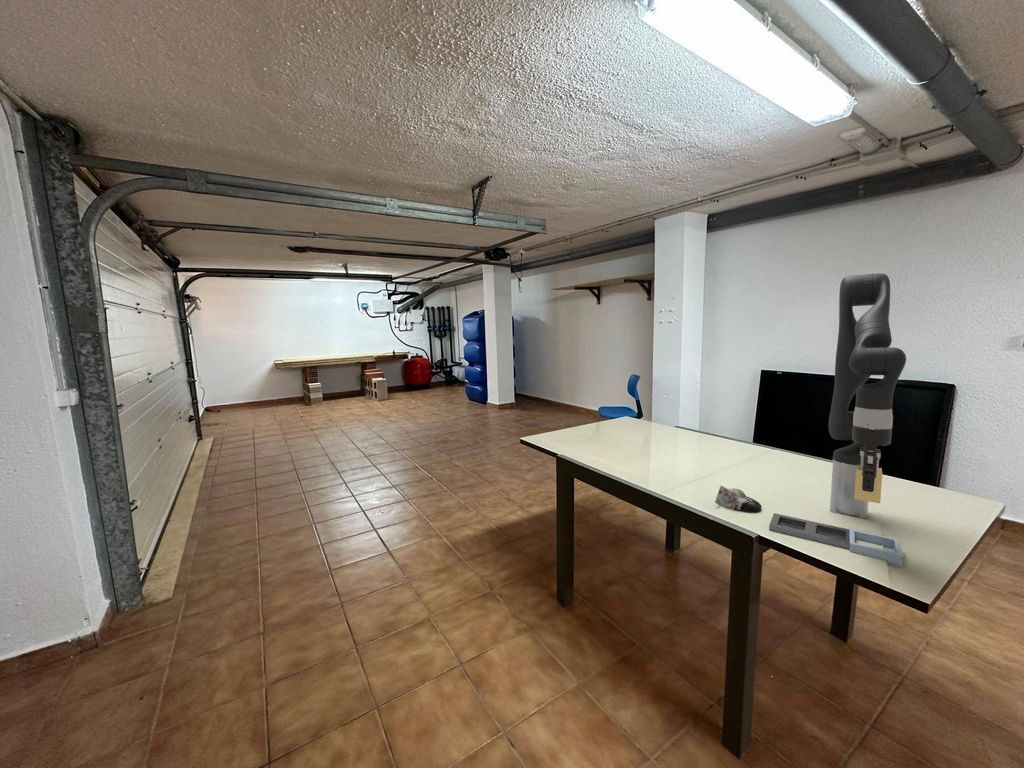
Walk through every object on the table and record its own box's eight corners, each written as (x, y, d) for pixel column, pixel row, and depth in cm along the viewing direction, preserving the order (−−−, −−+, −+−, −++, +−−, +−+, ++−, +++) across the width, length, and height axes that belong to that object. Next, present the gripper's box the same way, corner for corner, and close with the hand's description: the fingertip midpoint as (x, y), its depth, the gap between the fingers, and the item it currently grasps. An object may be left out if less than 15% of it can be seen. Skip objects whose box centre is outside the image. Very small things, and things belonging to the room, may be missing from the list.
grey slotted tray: (773, 520, 123) (773, 513, 123) (848, 537, 112) (849, 529, 112) (768, 533, 116) (769, 525, 116) (849, 552, 104) (849, 543, 104)
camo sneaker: (762, 518, 130) (744, 521, 126) (730, 500, 140) (713, 502, 135) (769, 500, 129) (751, 503, 124) (737, 483, 138) (719, 485, 134)
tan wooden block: (854, 493, 107) (856, 464, 106) (879, 497, 104) (881, 468, 103) (854, 498, 104) (856, 469, 103) (880, 503, 100) (882, 473, 99)
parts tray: (848, 539, 111) (849, 528, 111) (898, 550, 105) (898, 539, 104) (849, 554, 104) (849, 543, 103) (902, 567, 97) (903, 555, 97)
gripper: (853, 418, 109) (849, 477, 111) (852, 428, 99) (848, 493, 101) (890, 421, 104) (886, 483, 106) (893, 431, 94) (888, 500, 96)
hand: (867, 487), depth 103 cm, fingers closed on tan wooden block, 5 cm apart
